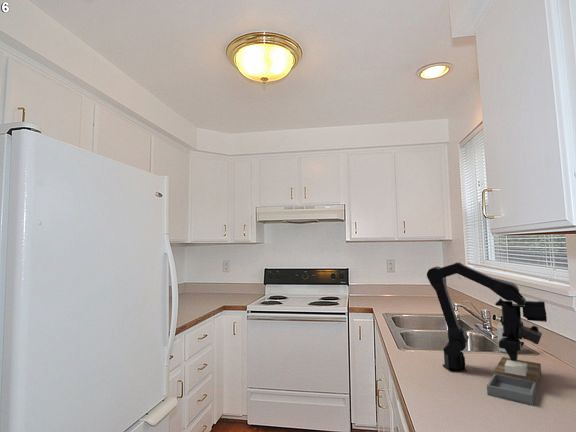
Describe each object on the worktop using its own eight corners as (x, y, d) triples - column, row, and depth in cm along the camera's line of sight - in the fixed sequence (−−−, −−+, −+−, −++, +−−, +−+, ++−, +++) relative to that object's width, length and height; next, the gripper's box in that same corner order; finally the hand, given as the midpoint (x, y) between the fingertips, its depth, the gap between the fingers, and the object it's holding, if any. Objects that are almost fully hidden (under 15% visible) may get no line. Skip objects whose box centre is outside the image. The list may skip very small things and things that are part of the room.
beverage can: (518, 354, 149) (516, 325, 150) (502, 353, 150) (500, 325, 151) (512, 349, 155) (510, 321, 156) (496, 349, 157) (494, 321, 157)
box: (532, 405, 106) (531, 395, 106) (487, 394, 114) (486, 385, 114) (536, 391, 115) (535, 381, 116) (494, 382, 123) (494, 373, 123)
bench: (536, 390, 116) (535, 378, 116) (495, 381, 123) (494, 370, 124) (541, 374, 128) (540, 363, 128) (503, 367, 136) (502, 357, 136)
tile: (525, 376, 118) (525, 368, 118) (504, 372, 121) (504, 365, 122) (527, 370, 122) (527, 363, 122) (507, 366, 126) (507, 359, 126)
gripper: (536, 328, 114) (540, 377, 113) (541, 316, 128) (544, 359, 127) (496, 323, 121) (500, 369, 120) (505, 312, 135) (508, 353, 135)
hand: (514, 363), depth 125 cm, fingers closed
